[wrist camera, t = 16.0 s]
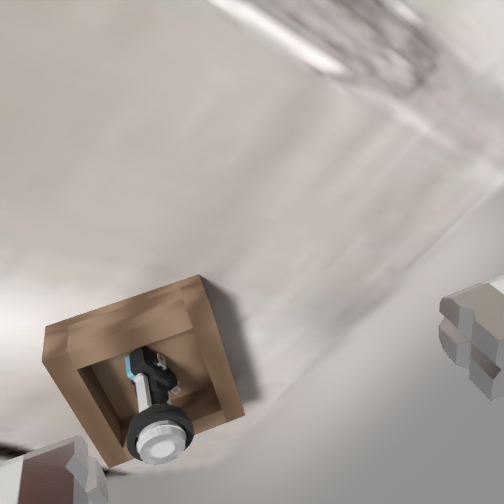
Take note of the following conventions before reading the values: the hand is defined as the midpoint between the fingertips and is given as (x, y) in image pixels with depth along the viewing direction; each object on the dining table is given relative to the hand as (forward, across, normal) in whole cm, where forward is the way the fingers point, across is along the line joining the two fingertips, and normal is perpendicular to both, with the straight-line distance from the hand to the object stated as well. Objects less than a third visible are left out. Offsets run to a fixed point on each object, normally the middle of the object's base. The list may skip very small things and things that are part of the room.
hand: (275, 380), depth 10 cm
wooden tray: (+29, +7, +24) cm, 38 cm away
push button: (+28, +7, +24) cm, 38 cm away
